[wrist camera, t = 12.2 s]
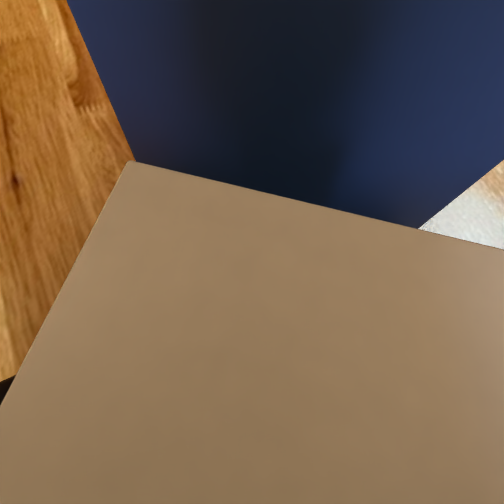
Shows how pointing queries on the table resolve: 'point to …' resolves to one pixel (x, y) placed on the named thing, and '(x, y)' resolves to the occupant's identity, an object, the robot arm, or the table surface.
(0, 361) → the table surface
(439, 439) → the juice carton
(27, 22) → the table surface
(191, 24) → the lid
